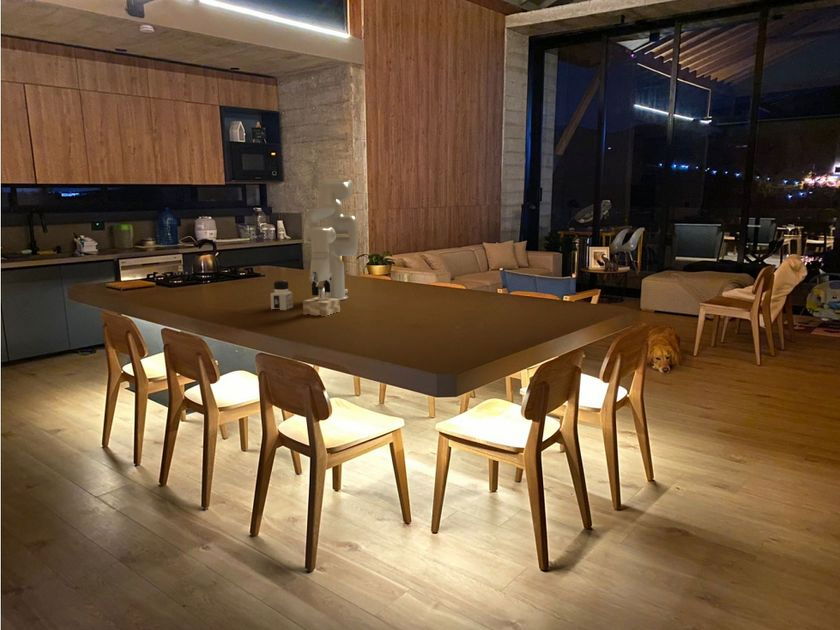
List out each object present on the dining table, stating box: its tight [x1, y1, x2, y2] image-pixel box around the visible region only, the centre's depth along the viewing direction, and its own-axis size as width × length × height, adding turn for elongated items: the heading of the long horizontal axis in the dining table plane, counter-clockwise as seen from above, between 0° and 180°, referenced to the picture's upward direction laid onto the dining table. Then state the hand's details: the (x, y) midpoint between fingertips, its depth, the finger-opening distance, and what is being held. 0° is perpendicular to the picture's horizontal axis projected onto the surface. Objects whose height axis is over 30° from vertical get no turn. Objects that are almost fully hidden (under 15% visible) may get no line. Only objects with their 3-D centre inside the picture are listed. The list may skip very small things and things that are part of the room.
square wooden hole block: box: [302, 296, 341, 317], centre depth 287 cm, size 12×12×6 cm
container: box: [270, 280, 294, 311], centre depth 297 cm, size 8×8×13 cm
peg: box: [317, 285, 326, 301], centre depth 287 cm, size 3×3×12 cm
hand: (321, 293), depth 286 cm, fingers open, 9 cm apart
